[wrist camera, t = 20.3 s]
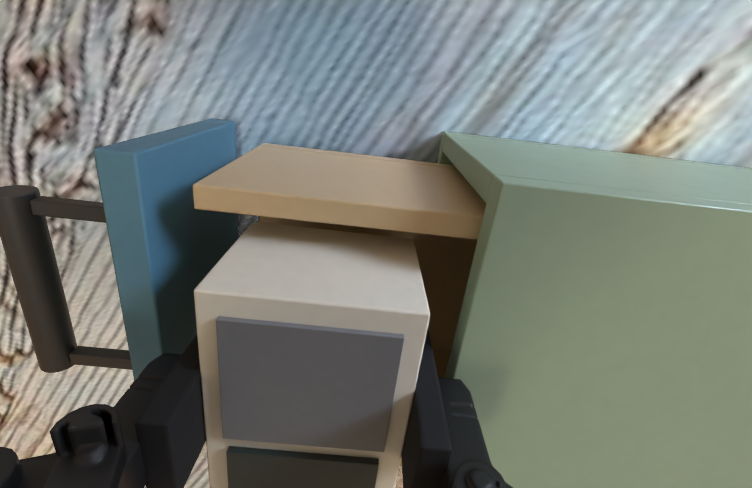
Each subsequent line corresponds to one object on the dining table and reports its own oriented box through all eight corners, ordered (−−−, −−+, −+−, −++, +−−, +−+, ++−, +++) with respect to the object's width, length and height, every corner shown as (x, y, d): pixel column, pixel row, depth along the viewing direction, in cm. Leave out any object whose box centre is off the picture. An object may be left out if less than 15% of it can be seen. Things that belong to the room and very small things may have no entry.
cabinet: (402, 353, 25) (417, 518, 16) (442, 130, 20) (502, 182, 10) (648, 377, 26) (801, 548, 17) (755, 168, 20) (1082, 249, 11)
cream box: (252, 220, 14) (188, 294, 9) (414, 238, 14) (432, 319, 10) (254, 387, 17) (207, 506, 12) (386, 399, 18) (390, 520, 13)
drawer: (128, 329, 24) (7, 453, 16) (89, 103, 18) (-121, 124, 11) (470, 362, 24) (513, 494, 17) (526, 155, 19) (626, 209, 11)
